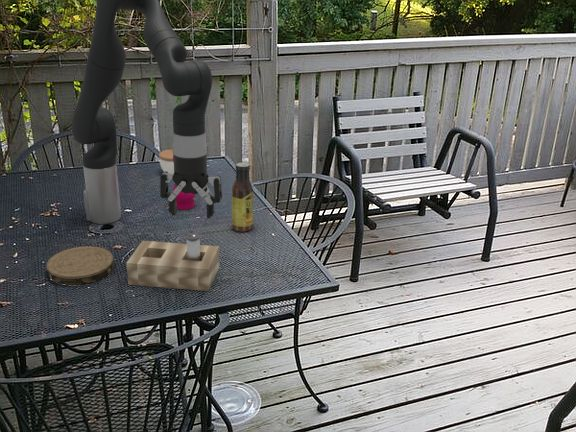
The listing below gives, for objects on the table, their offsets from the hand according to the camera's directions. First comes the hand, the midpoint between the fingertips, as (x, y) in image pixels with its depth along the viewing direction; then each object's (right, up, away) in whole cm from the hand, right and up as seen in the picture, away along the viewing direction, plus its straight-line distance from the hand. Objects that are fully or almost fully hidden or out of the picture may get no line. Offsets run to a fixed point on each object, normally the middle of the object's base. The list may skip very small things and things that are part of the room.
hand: (192, 215), depth 139 cm
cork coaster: (-29, -14, +9) cm, 34 cm away
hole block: (-5, -15, +7) cm, 18 cm away
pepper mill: (-10, +3, +47) cm, 48 cm away
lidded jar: (-18, +15, +73) cm, 77 cm away
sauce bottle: (+9, -4, +34) cm, 35 cm away
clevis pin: (-1, -15, +7) cm, 17 cm away
